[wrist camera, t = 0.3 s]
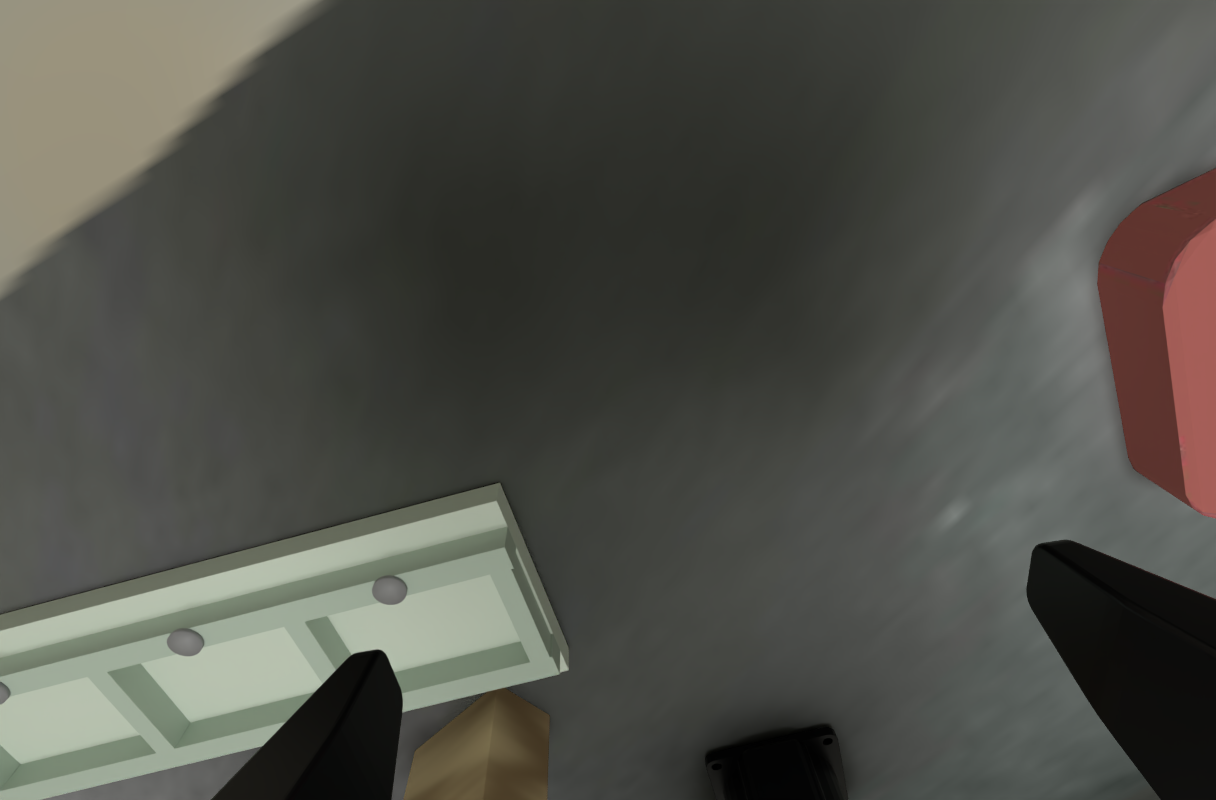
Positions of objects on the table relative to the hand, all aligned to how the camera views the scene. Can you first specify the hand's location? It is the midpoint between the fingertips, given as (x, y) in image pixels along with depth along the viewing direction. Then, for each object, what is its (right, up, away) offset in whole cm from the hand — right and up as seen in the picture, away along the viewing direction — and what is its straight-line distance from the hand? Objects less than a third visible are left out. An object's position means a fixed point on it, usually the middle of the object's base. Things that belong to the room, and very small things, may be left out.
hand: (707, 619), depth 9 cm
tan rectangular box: (-7, -13, +21) cm, 26 cm away
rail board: (-16, -7, +18) cm, 25 cm away
